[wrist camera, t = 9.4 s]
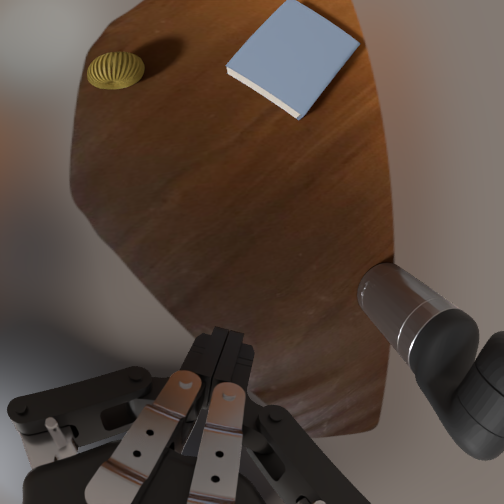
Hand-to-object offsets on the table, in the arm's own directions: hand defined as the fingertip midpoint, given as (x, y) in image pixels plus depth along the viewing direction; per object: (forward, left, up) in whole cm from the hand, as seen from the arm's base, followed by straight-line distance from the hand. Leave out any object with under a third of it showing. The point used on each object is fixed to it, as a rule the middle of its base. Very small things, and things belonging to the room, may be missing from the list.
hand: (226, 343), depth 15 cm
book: (-2, -19, -26) cm, 33 cm away
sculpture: (+18, -22, -28) cm, 39 cm away
